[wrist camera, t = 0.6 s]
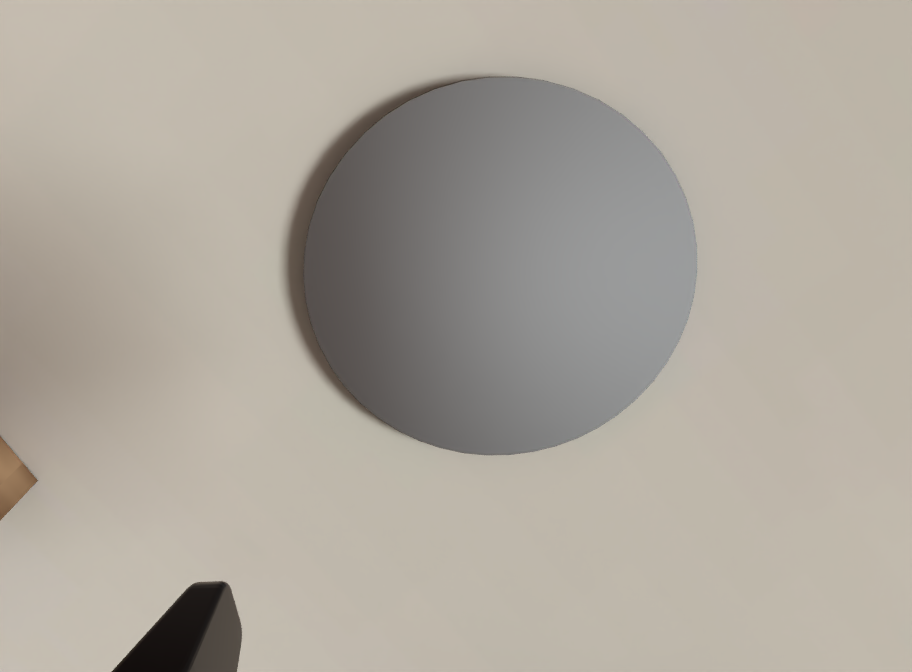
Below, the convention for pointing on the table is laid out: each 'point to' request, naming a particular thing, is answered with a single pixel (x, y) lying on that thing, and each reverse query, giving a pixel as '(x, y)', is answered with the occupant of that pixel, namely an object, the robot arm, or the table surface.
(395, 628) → the table surface
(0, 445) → the wood frame
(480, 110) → the slate mat
